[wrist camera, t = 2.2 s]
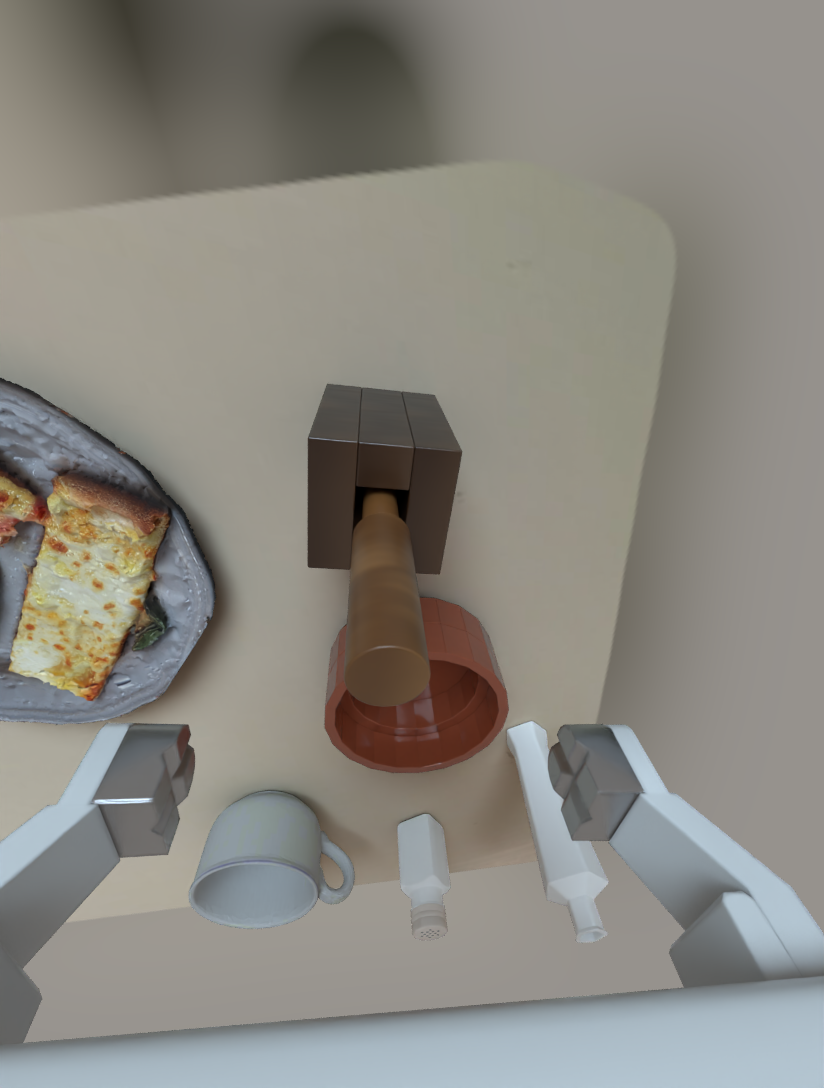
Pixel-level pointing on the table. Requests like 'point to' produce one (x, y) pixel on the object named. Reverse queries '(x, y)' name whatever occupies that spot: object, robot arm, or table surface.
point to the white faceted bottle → (557, 836)
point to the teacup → (265, 864)
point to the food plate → (88, 572)
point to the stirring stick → (384, 609)
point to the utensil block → (379, 470)
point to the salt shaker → (424, 874)
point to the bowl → (425, 701)
